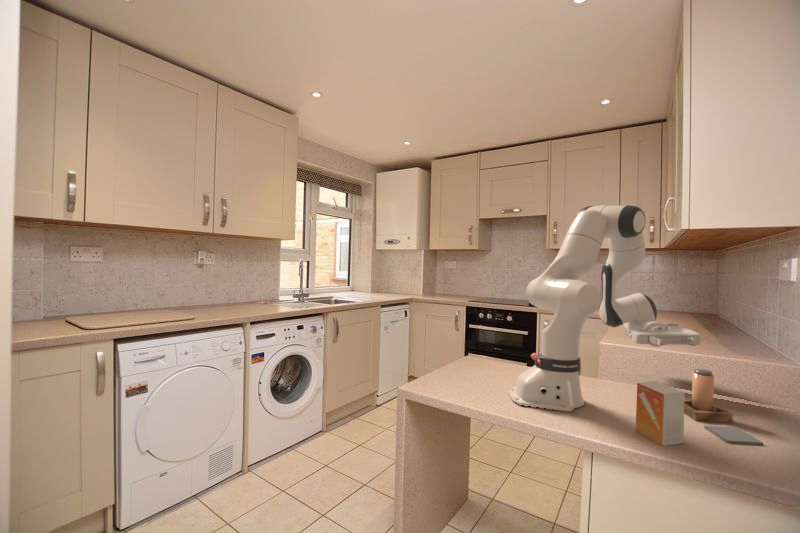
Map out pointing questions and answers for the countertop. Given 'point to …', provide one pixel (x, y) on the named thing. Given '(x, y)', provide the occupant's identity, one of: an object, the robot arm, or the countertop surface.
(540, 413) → the countertop surface
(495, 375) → the countertop surface
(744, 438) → the mat
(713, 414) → the brown wooden square tray
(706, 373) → the jar
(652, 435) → the small box
